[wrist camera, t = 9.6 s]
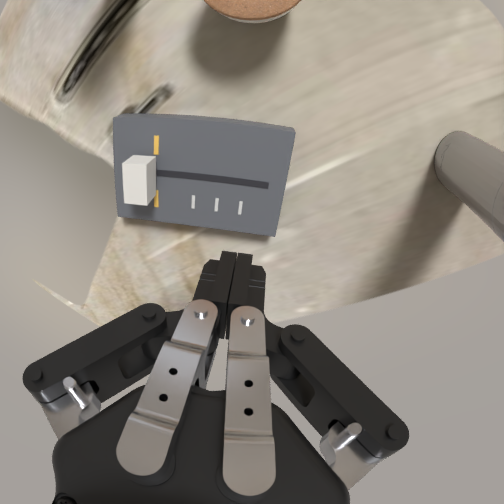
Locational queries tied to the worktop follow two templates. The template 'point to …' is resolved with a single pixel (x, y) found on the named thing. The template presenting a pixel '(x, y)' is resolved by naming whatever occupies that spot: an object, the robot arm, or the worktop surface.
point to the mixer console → (207, 170)
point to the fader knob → (139, 179)
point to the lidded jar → (252, 9)
